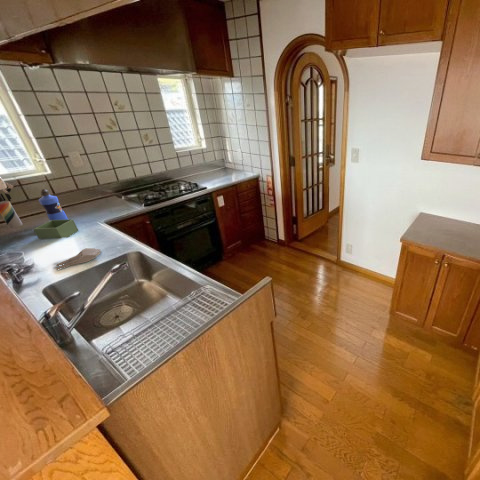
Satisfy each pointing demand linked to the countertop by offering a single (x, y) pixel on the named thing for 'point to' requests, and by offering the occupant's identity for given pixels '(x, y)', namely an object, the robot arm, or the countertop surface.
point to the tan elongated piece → (80, 257)
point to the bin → (56, 229)
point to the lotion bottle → (9, 213)
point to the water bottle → (52, 206)
